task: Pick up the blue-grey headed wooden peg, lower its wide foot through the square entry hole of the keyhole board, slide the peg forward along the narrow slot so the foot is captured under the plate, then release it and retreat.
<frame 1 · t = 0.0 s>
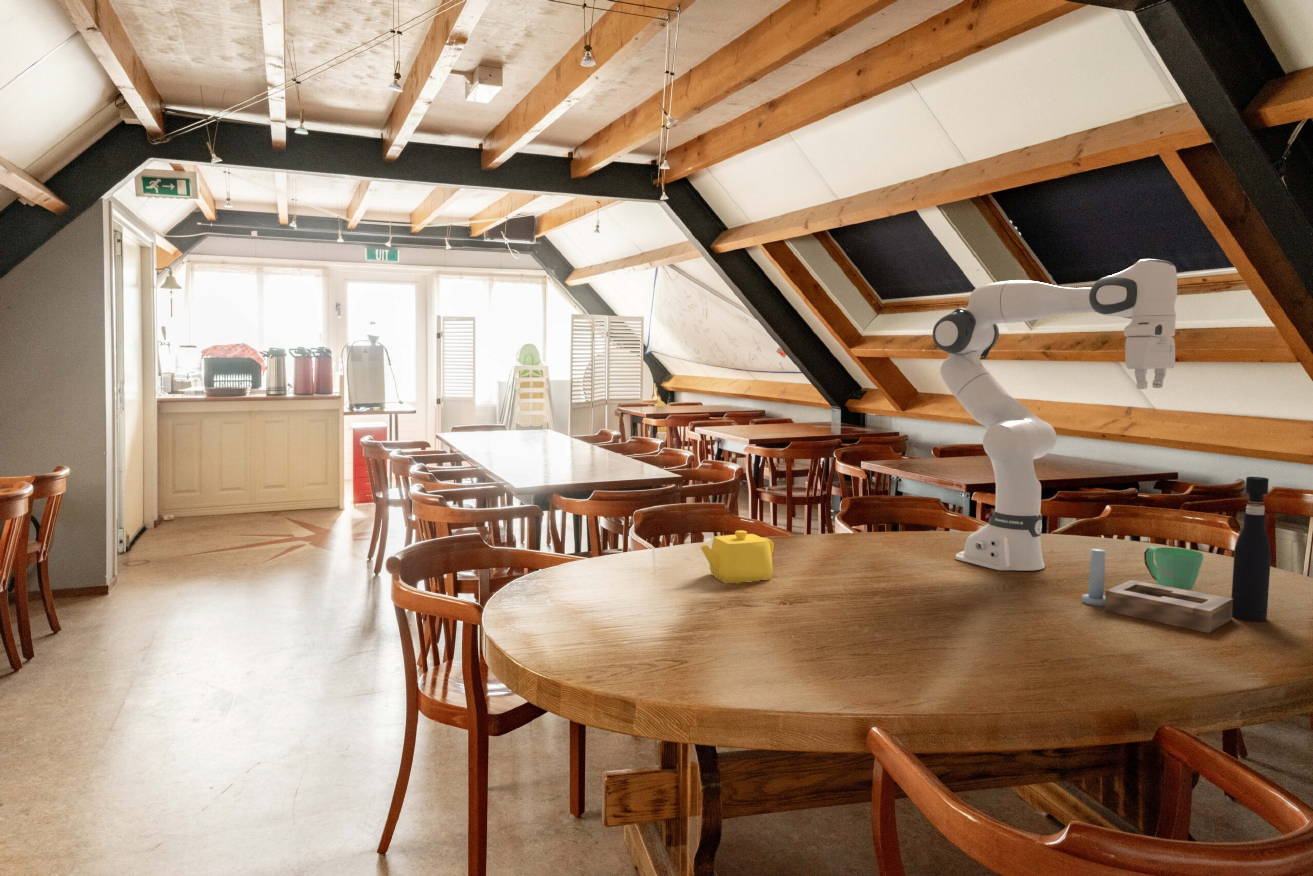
hand: (1149, 388, 199), 48 cm above the table, fingers open, 8 cm apart
mug: (1168, 592, 201), on the table
keyhole board: (1167, 615, 183), on the table
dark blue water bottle: (1248, 618, 181), on the table
peg: (1095, 602, 192), on the table
teapot: (737, 578, 214), on the table
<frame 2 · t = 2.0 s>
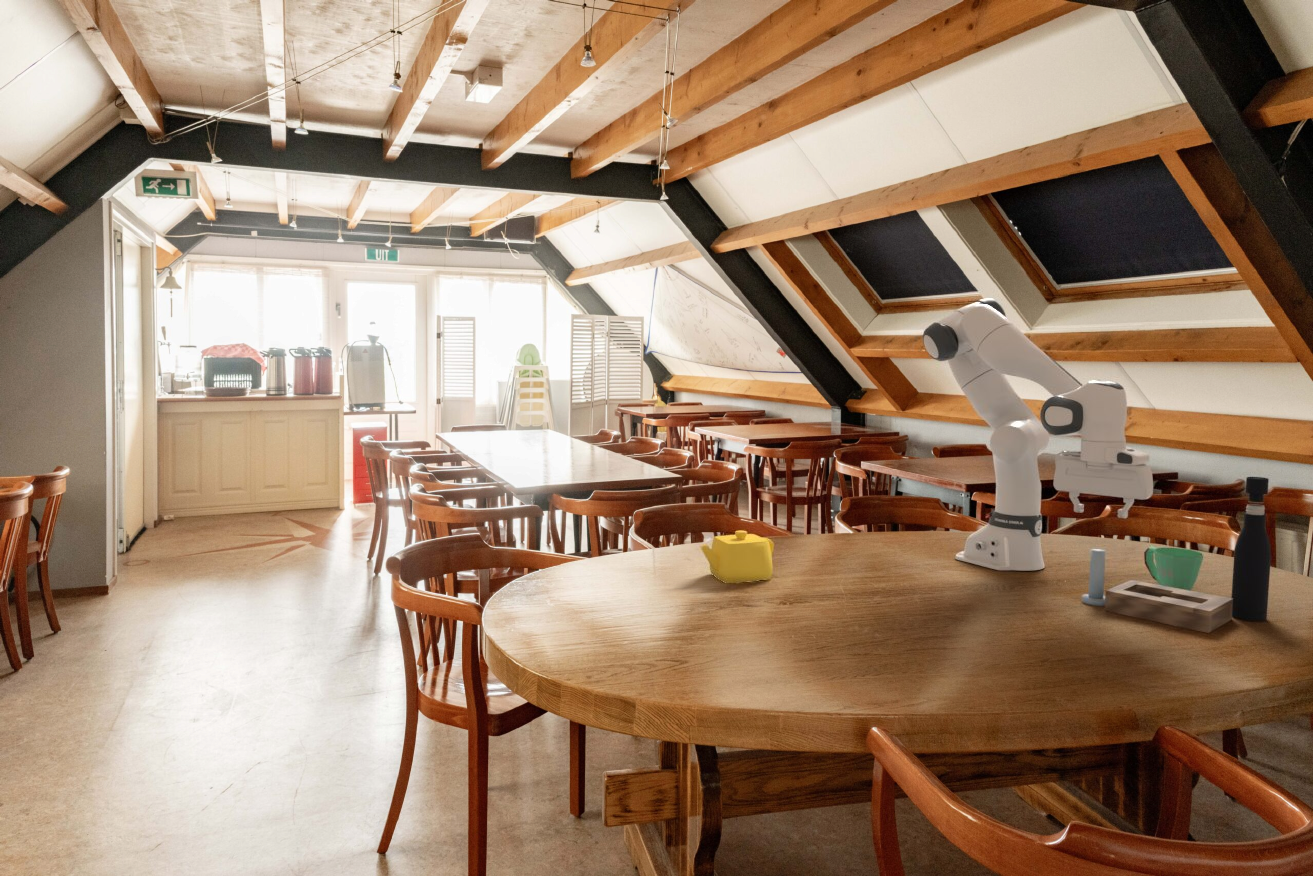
hand: (1100, 514, 190), 20 cm above the table, fingers open, 8 cm apart
nothing on the table moved.
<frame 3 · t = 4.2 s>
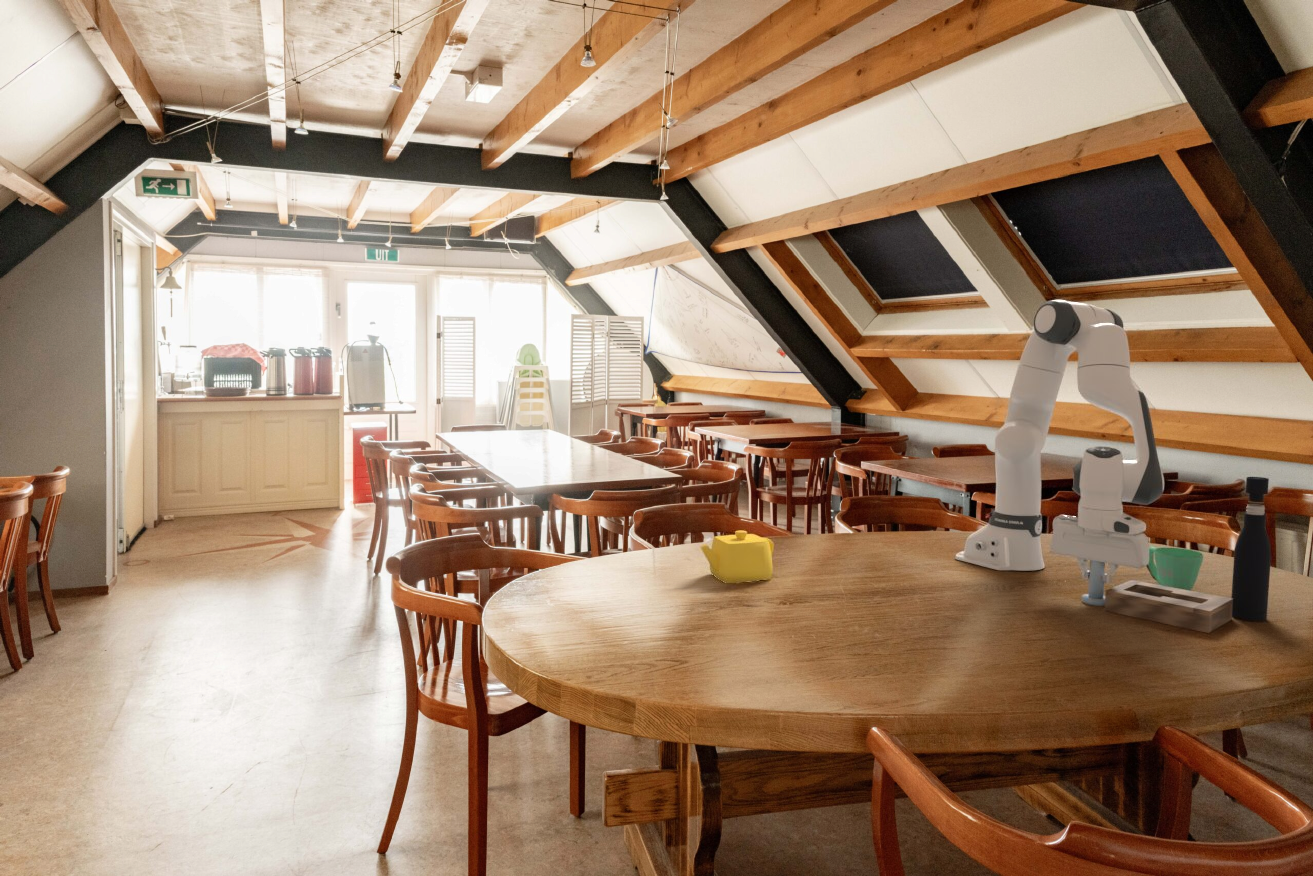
hand: (1096, 580, 192), 5 cm above the table, fingers closed on peg, 3 cm apart
peg: (1095, 602, 192), on the table, touching gripper
everything else where it was.
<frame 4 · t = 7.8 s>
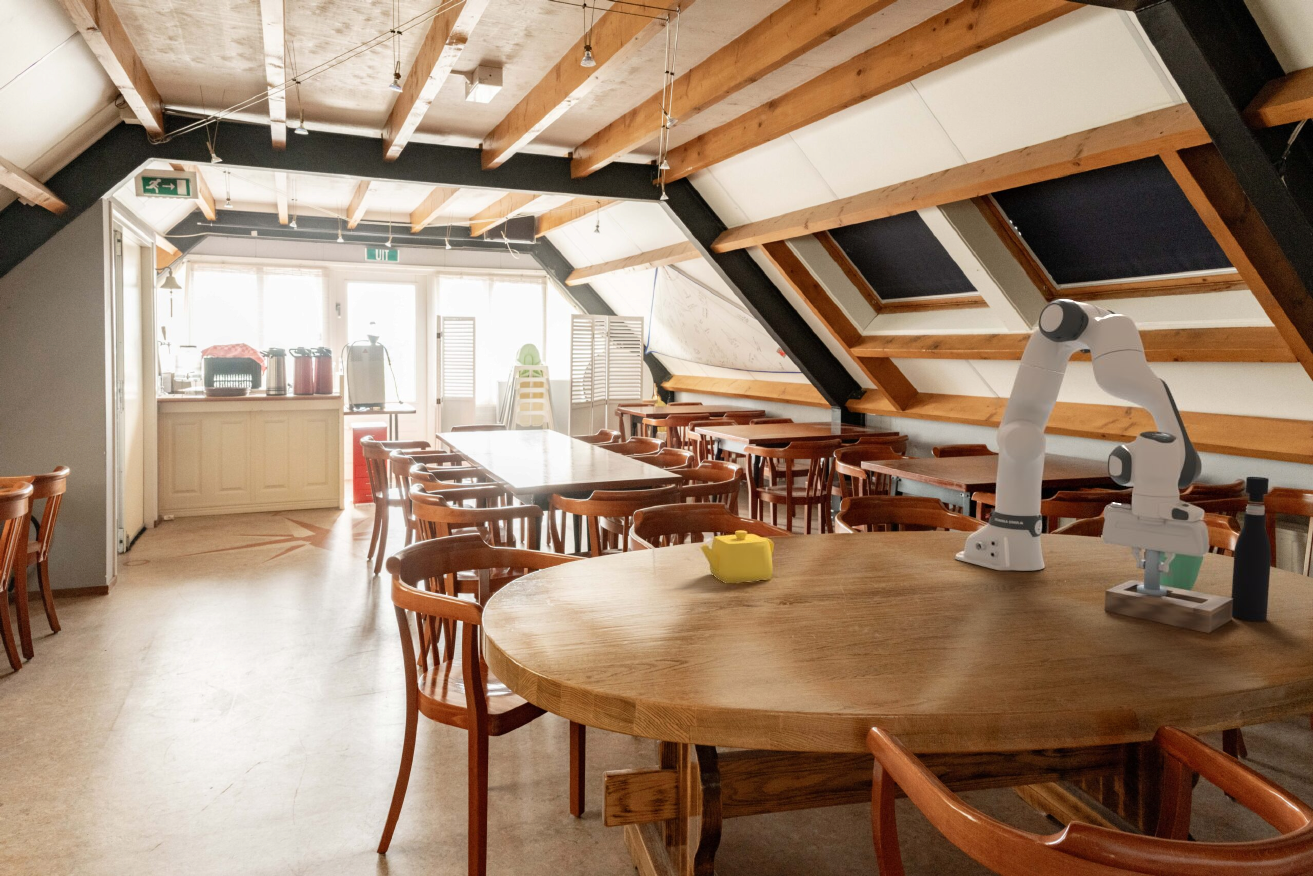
hand: (1152, 570, 185), 9 cm above the table, fingers closed on peg, 3 cm apart
peg: (1151, 593, 186), point 4 cm above the table, touching gripper
everything else where it was.
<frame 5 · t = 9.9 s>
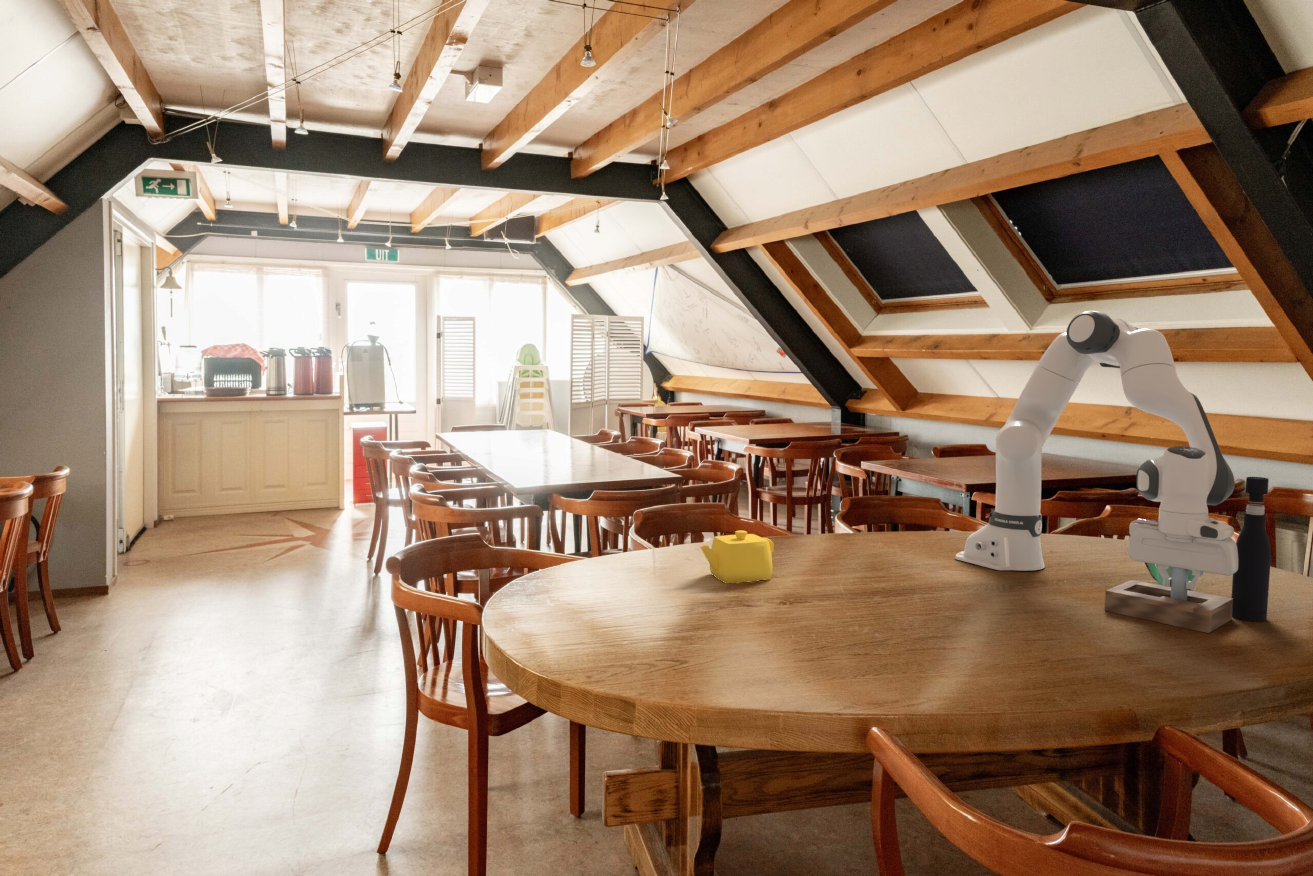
hand: (1179, 588, 181), 6 cm above the table, fingers closed on peg, 3 cm apart
peg: (1178, 612, 181), point 1 cm above the table, touching gripper
everything else where it was.
when the fingers open (6 cm above the table, at t = 11.6 s): peg stays where it is, resting in keyhole board.
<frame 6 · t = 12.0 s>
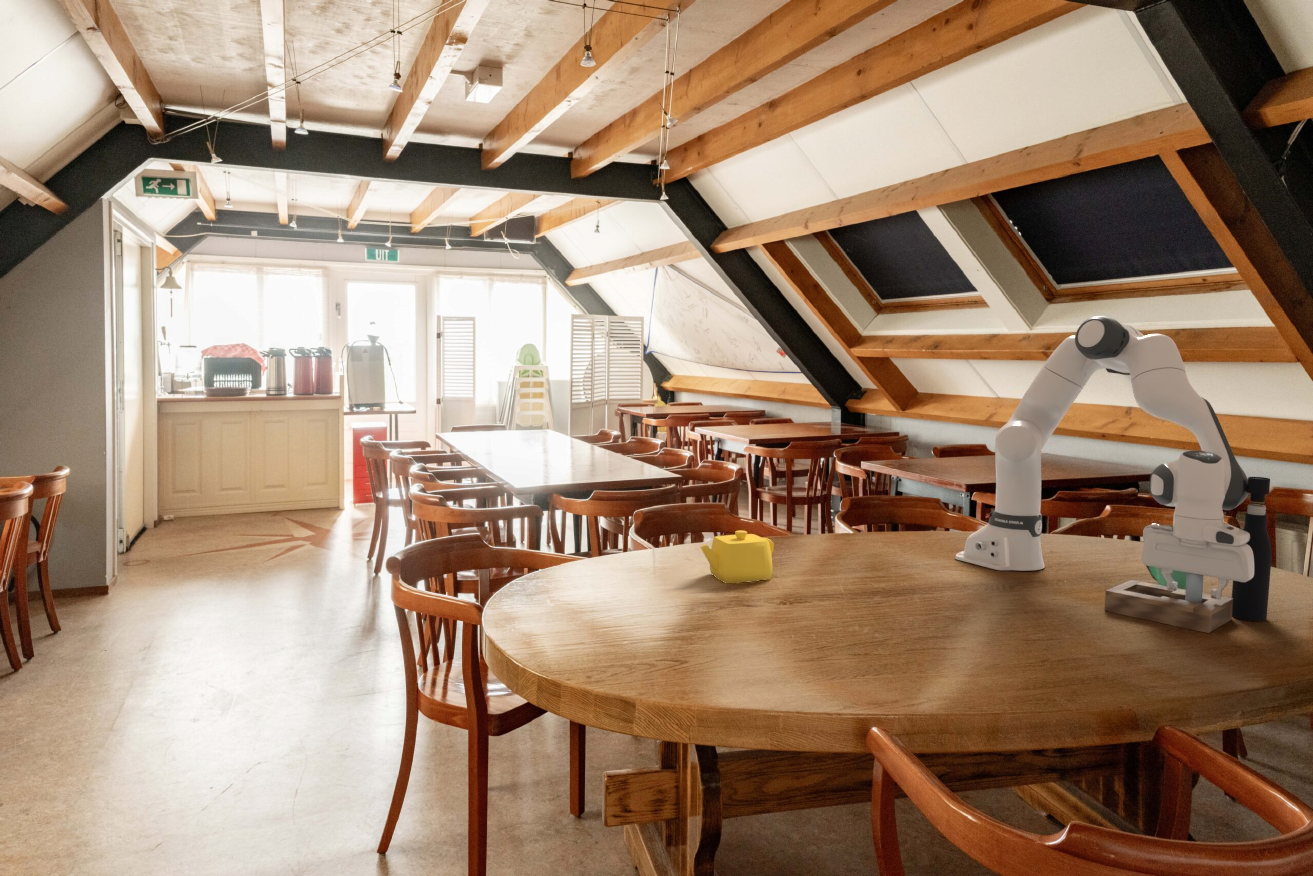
hand: (1193, 594, 179), 6 cm above the table, fingers open, 7 cm apart
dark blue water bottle: (1248, 618, 181), on the table, touching arm
peg: (1192, 620, 179), resting in keyhole board
everything else where it was.
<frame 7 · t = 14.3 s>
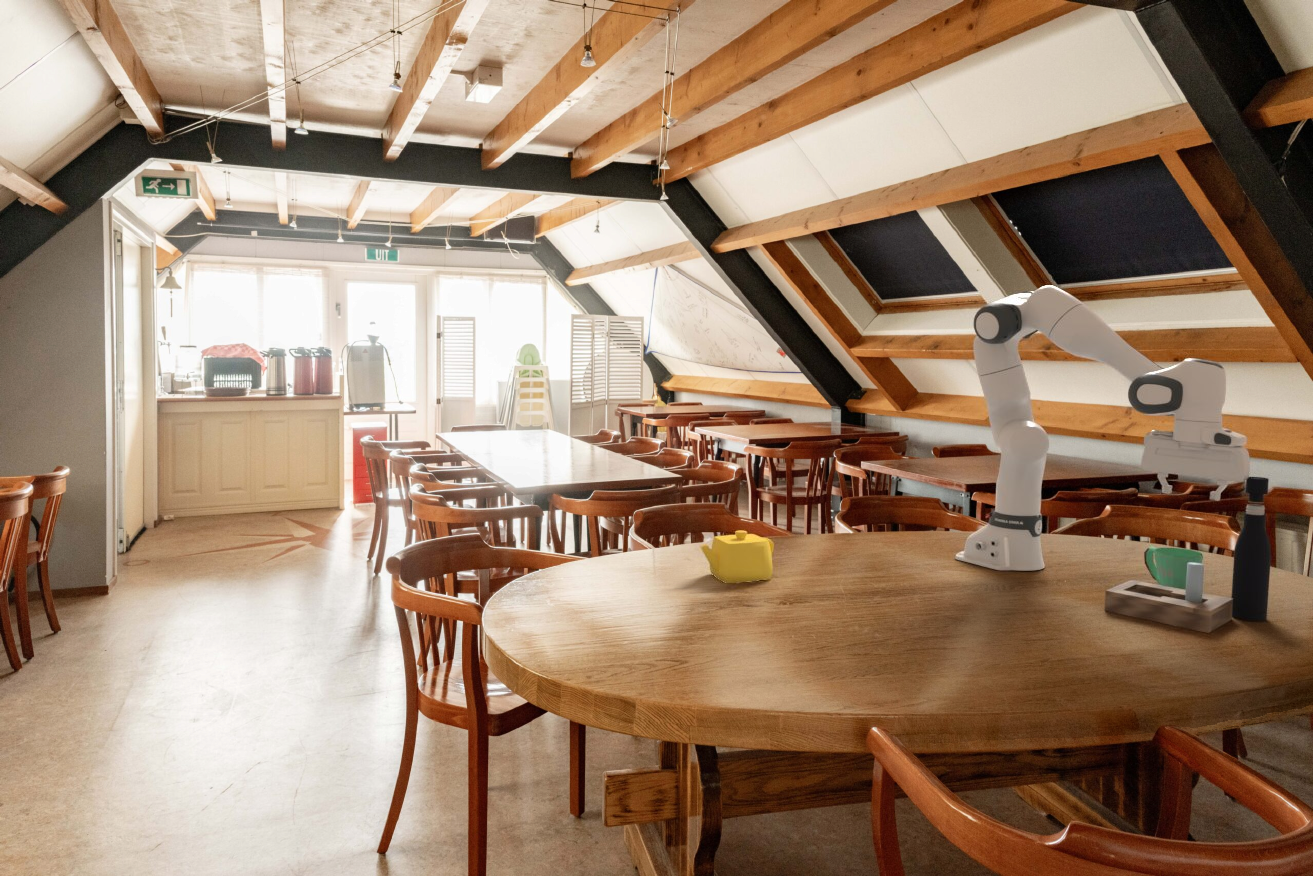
hand: (1190, 496, 186), 25 cm above the table, fingers open, 8 cm apart
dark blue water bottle: (1248, 618, 181), on the table
everything else where it was.
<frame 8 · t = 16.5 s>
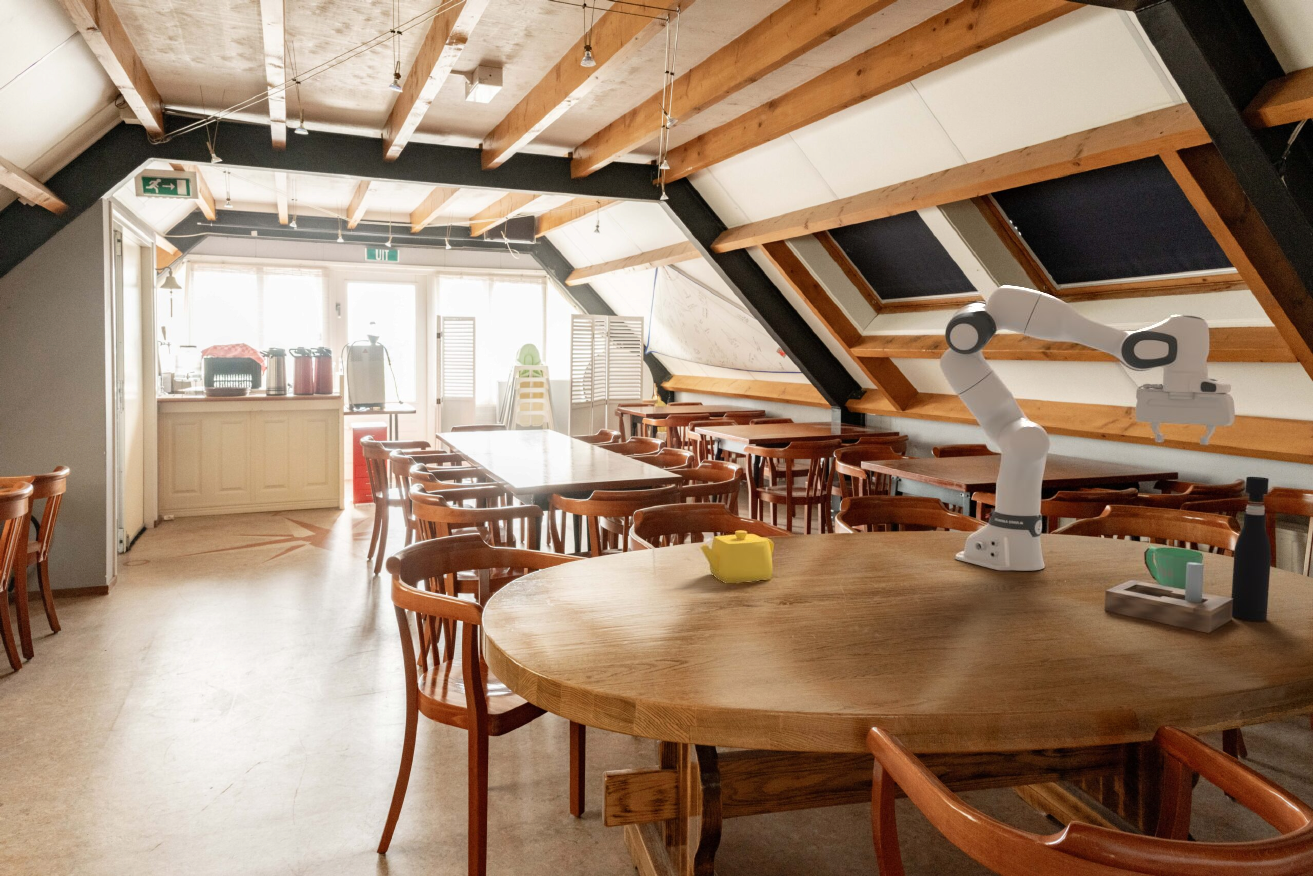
hand: (1181, 443, 200), 35 cm above the table, fingers open, 8 cm apart
nothing on the table moved.
at the end: peg 0.2 cm from the target spot on the keyhole board, point 0.0 cm above the keyhole board's base; peg tilted 0°; the gripper is holding nothing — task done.
